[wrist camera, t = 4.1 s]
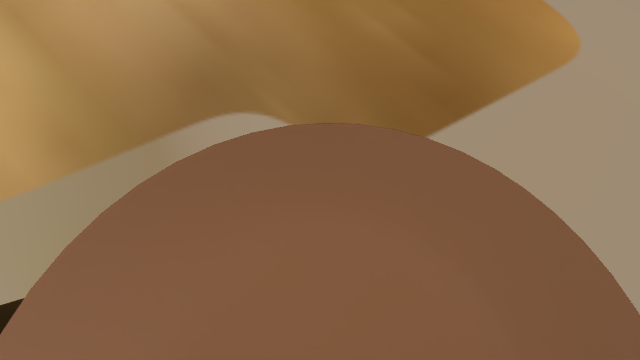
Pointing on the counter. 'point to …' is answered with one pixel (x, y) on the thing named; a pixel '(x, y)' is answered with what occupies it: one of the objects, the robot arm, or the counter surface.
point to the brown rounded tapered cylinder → (326, 262)
